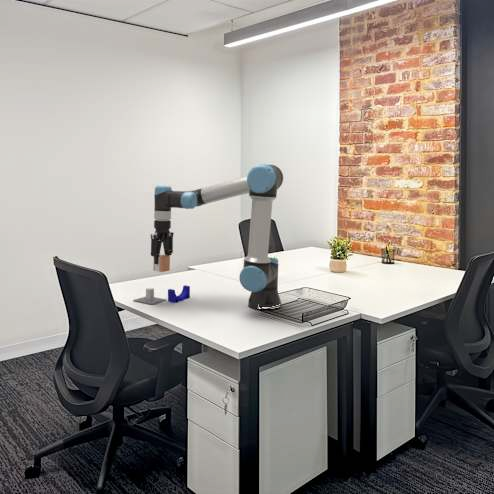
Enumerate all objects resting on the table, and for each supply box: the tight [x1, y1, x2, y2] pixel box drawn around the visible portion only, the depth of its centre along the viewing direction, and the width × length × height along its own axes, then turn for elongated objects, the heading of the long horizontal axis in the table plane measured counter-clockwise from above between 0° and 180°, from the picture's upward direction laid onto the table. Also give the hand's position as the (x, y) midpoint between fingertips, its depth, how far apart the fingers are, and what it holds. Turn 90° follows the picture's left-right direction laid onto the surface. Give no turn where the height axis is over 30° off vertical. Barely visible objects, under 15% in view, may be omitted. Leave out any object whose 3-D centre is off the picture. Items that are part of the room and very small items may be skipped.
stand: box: [132, 287, 168, 306], centre depth 248 cm, size 12×10×6 cm
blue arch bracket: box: [167, 284, 191, 304], centre depth 251 cm, size 12×4×6 cm, turn 144°
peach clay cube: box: [153, 254, 171, 273], centre depth 242 cm, size 5×5×7 cm
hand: (161, 269), depth 242 cm, fingers closed on peach clay cube, 5 cm apart
